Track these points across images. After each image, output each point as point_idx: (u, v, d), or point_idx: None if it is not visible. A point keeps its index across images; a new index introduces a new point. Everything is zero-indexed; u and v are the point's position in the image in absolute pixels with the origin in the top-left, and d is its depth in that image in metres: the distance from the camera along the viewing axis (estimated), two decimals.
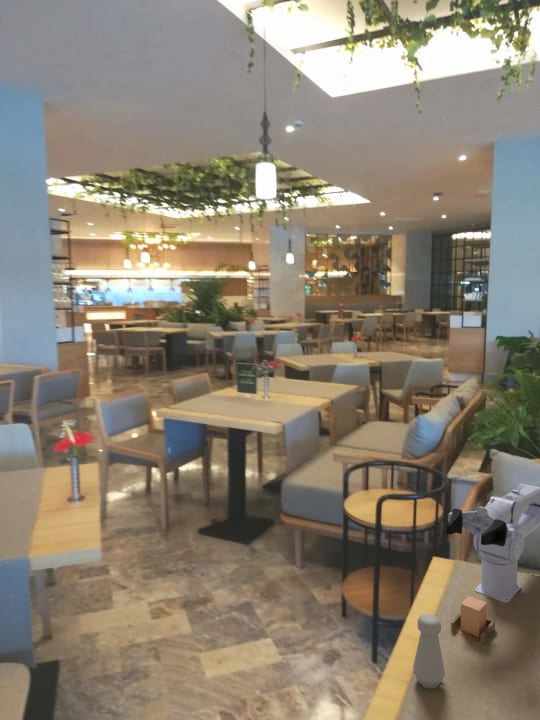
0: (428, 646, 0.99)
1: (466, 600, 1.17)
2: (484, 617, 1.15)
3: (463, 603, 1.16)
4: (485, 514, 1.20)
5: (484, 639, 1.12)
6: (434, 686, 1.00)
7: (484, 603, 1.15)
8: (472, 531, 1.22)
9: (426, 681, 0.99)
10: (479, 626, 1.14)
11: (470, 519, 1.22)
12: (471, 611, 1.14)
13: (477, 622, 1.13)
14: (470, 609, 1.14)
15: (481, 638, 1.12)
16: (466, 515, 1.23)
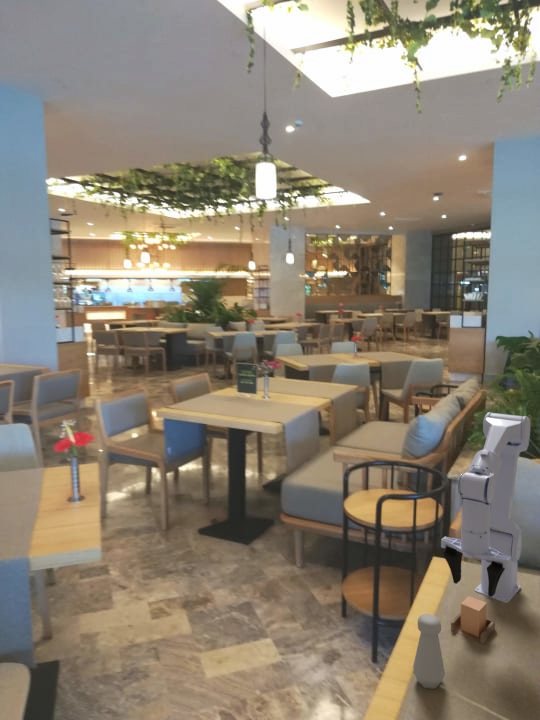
0: (428, 646, 0.99)
1: (466, 600, 1.17)
2: (484, 617, 1.15)
3: (463, 603, 1.16)
4: None
5: (484, 639, 1.12)
6: (434, 686, 1.00)
7: (484, 603, 1.15)
8: None
9: (426, 681, 0.99)
10: (479, 626, 1.14)
11: None
12: (471, 611, 1.14)
13: (477, 622, 1.13)
14: (470, 609, 1.14)
15: (481, 638, 1.12)
16: None
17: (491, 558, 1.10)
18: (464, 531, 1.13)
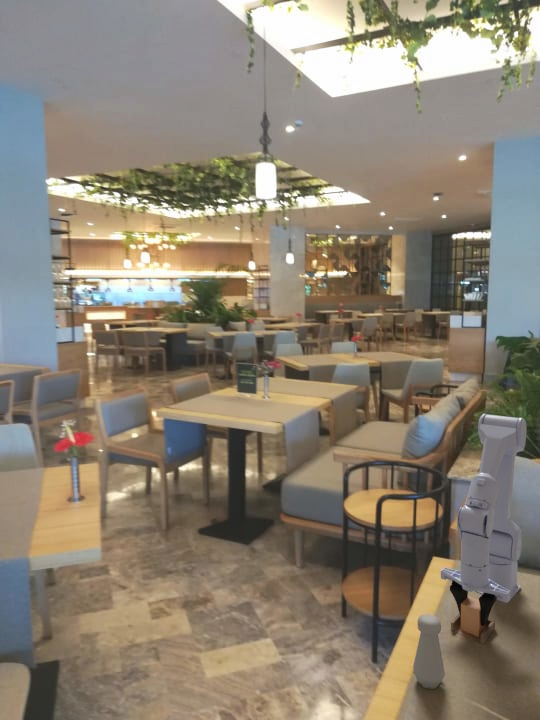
0: (428, 646, 0.99)
1: (466, 600, 1.17)
2: None
3: (463, 603, 1.16)
4: None
5: (484, 639, 1.12)
6: (434, 686, 1.00)
7: None
8: None
9: (426, 681, 0.99)
10: (479, 626, 1.14)
11: None
12: (471, 611, 1.14)
13: (477, 622, 1.13)
14: (470, 609, 1.14)
15: (481, 638, 1.12)
16: None
17: (490, 591, 1.11)
18: (463, 564, 1.14)
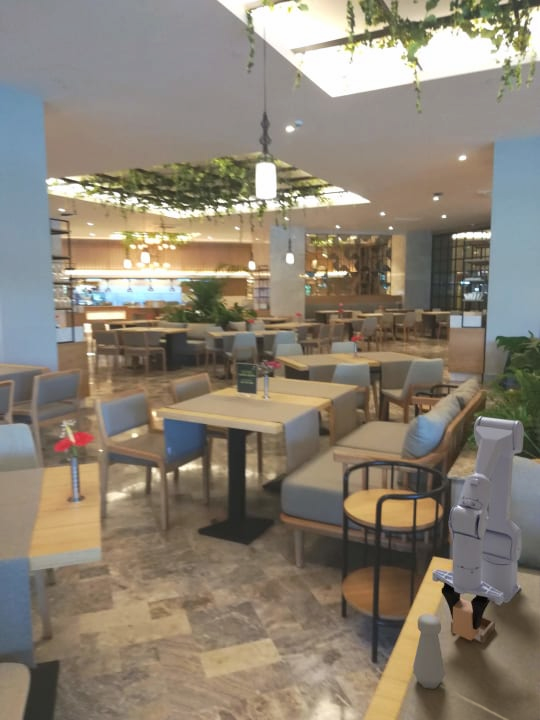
0: (428, 646, 0.99)
1: (458, 603, 1.14)
2: None
3: (455, 606, 1.13)
4: None
5: (484, 639, 1.12)
6: (434, 686, 1.00)
7: None
8: None
9: (426, 681, 0.99)
10: (472, 630, 1.11)
11: None
12: (463, 614, 1.11)
13: (469, 625, 1.10)
14: (462, 611, 1.11)
15: (481, 638, 1.12)
16: None
17: (483, 594, 1.08)
18: (455, 566, 1.11)
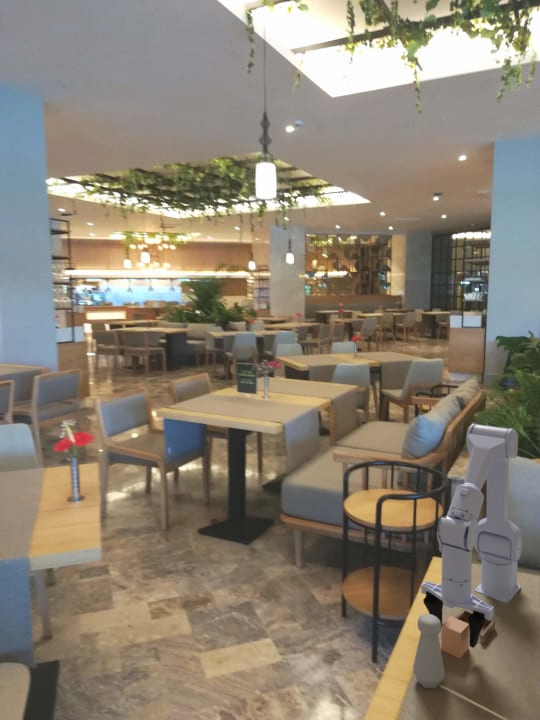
0: (428, 646, 0.99)
1: (447, 621, 1.10)
2: (466, 639, 1.09)
3: (444, 624, 1.09)
4: None
5: (484, 639, 1.12)
6: (434, 686, 1.00)
7: (466, 624, 1.09)
8: None
9: (426, 681, 0.99)
10: (461, 649, 1.07)
11: None
12: (452, 633, 1.08)
13: (458, 645, 1.07)
14: (451, 630, 1.08)
15: (481, 638, 1.12)
16: None
17: (472, 608, 1.04)
18: (444, 578, 1.07)
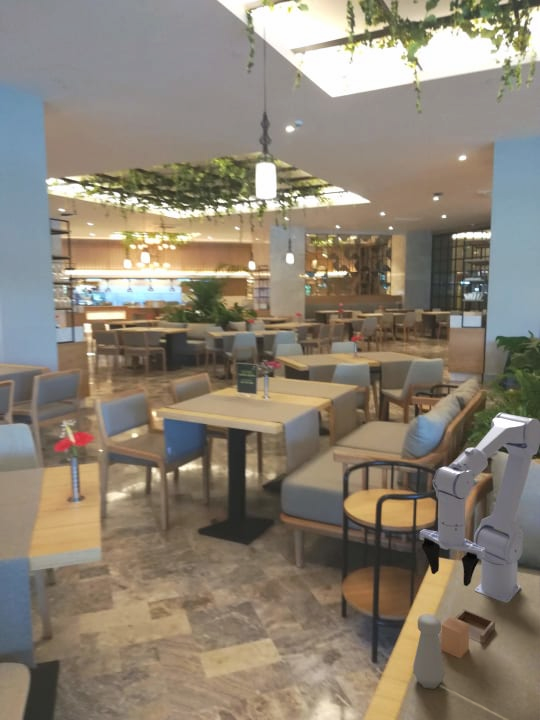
0: (428, 646, 0.99)
1: (447, 621, 1.10)
2: (466, 639, 1.09)
3: (444, 624, 1.09)
4: None
5: (484, 639, 1.12)
6: (434, 686, 1.00)
7: (466, 624, 1.09)
8: None
9: (426, 681, 0.99)
10: (461, 649, 1.07)
11: None
12: (452, 633, 1.08)
13: (458, 645, 1.07)
14: (451, 630, 1.08)
15: (481, 638, 1.12)
16: None
17: (466, 549, 1.15)
18: (441, 523, 1.18)
